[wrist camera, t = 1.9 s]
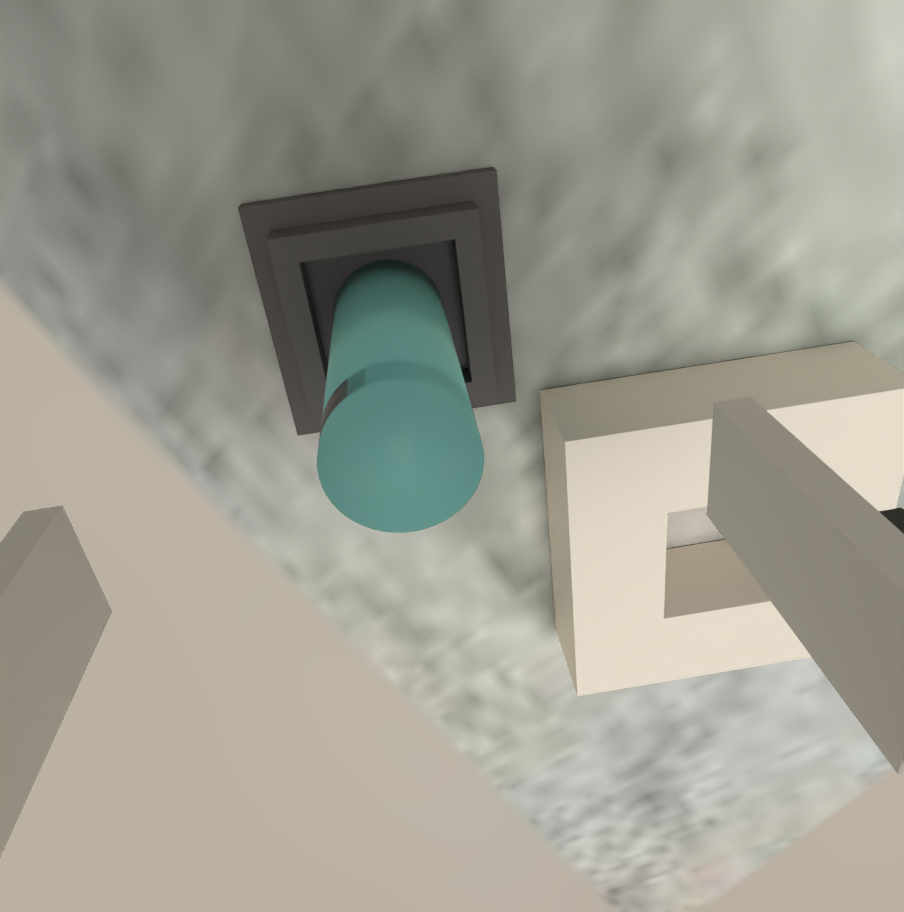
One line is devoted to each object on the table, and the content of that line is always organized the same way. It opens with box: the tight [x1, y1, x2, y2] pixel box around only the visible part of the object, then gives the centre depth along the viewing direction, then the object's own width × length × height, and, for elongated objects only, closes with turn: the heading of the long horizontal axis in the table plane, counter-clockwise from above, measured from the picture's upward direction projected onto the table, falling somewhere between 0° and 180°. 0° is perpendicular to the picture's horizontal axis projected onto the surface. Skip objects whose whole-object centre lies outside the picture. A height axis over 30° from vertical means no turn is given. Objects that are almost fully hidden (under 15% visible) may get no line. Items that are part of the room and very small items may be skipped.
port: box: [540, 342, 904, 696], centre depth 29 cm, size 12×12×4 cm
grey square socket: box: [238, 167, 516, 435], centre depth 24 cm, size 8×8×2 cm
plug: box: [317, 259, 484, 532], centre depth 20 cm, size 4×4×10 cm
